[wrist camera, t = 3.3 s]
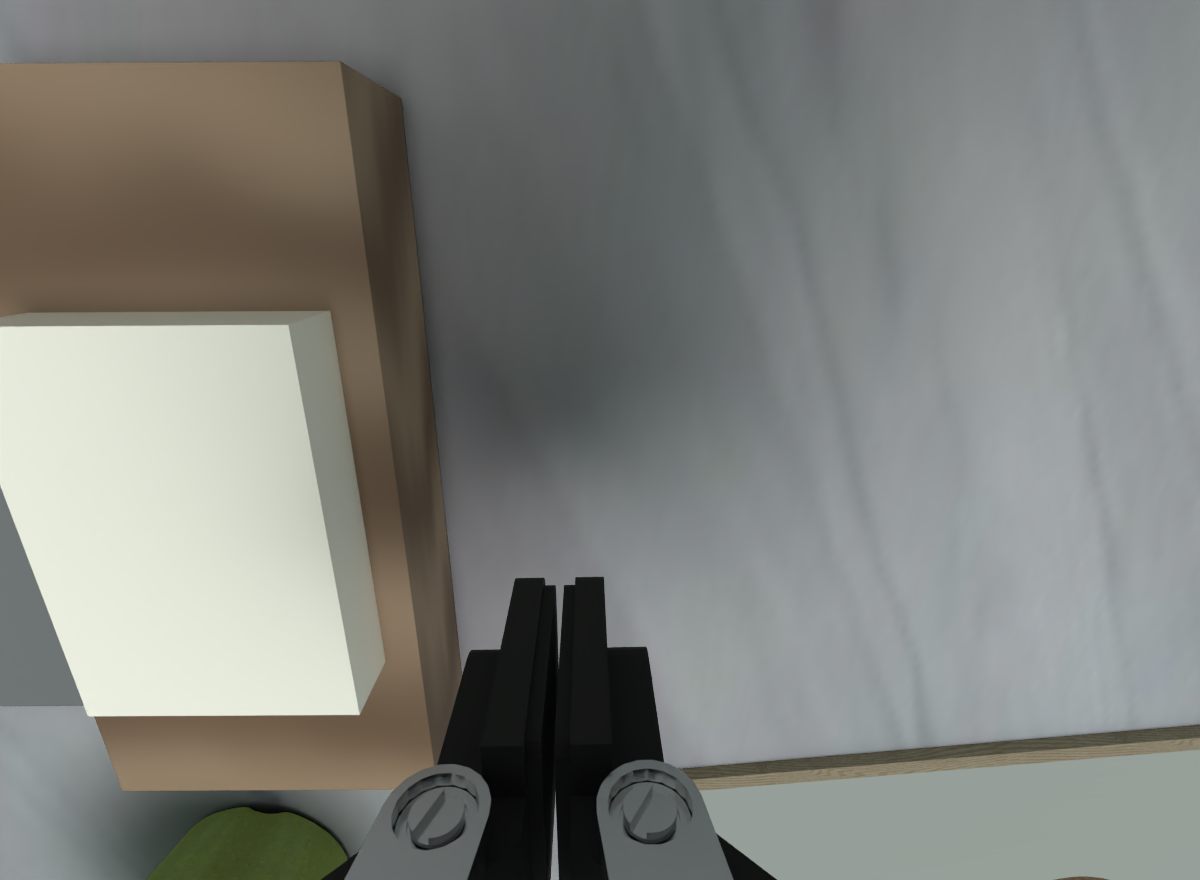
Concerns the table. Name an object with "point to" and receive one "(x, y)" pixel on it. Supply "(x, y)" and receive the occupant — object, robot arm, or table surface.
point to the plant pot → (252, 849)
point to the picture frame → (971, 810)
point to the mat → (28, 632)
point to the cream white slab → (191, 509)
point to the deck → (255, 283)
